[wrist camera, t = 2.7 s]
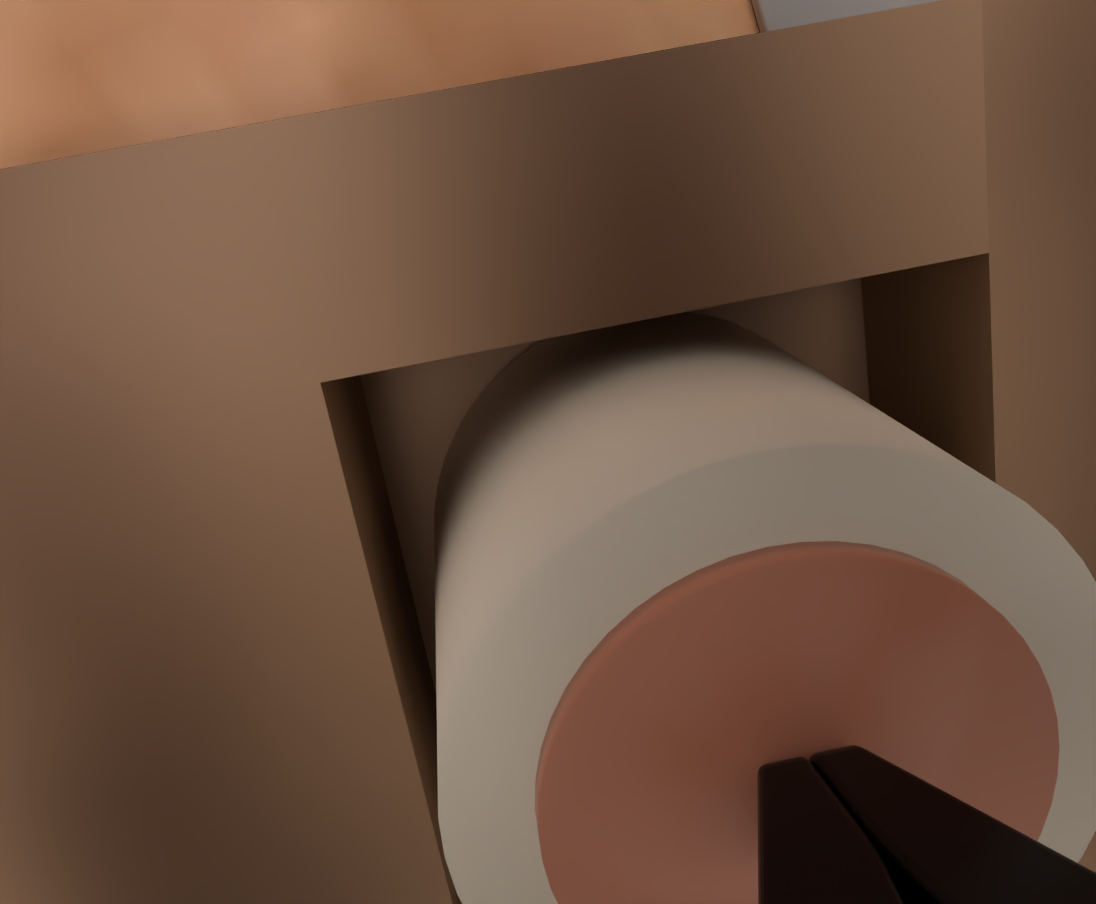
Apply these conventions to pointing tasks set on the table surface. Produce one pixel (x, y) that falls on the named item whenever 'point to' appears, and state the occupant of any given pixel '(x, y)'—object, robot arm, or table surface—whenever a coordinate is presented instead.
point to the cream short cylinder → (728, 618)
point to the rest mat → (817, 10)
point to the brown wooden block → (464, 395)
